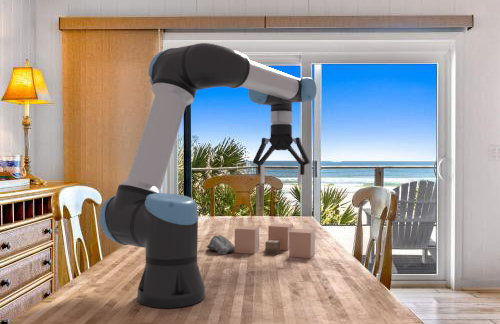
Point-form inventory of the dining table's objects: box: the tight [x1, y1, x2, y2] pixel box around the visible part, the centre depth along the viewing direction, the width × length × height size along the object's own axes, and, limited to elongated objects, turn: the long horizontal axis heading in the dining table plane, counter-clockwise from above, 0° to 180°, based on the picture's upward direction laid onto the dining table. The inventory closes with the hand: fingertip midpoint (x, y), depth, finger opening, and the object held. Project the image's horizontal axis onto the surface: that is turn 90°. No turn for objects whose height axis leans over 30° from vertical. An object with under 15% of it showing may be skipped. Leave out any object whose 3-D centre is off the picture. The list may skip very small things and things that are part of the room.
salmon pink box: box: [288, 228, 316, 259], centre depth 154 cm, size 7×7×8 cm
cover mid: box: [267, 222, 294, 251], centre depth 167 cm, size 7×7×8 cm
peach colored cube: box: [233, 225, 260, 254], centre depth 160 cm, size 7×7×8 cm
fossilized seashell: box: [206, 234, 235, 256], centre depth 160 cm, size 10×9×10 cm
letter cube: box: [264, 239, 281, 256], centre depth 157 cm, size 4×4×4 cm
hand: (280, 184), depth 166 cm, fingers open, 13 cm apart
